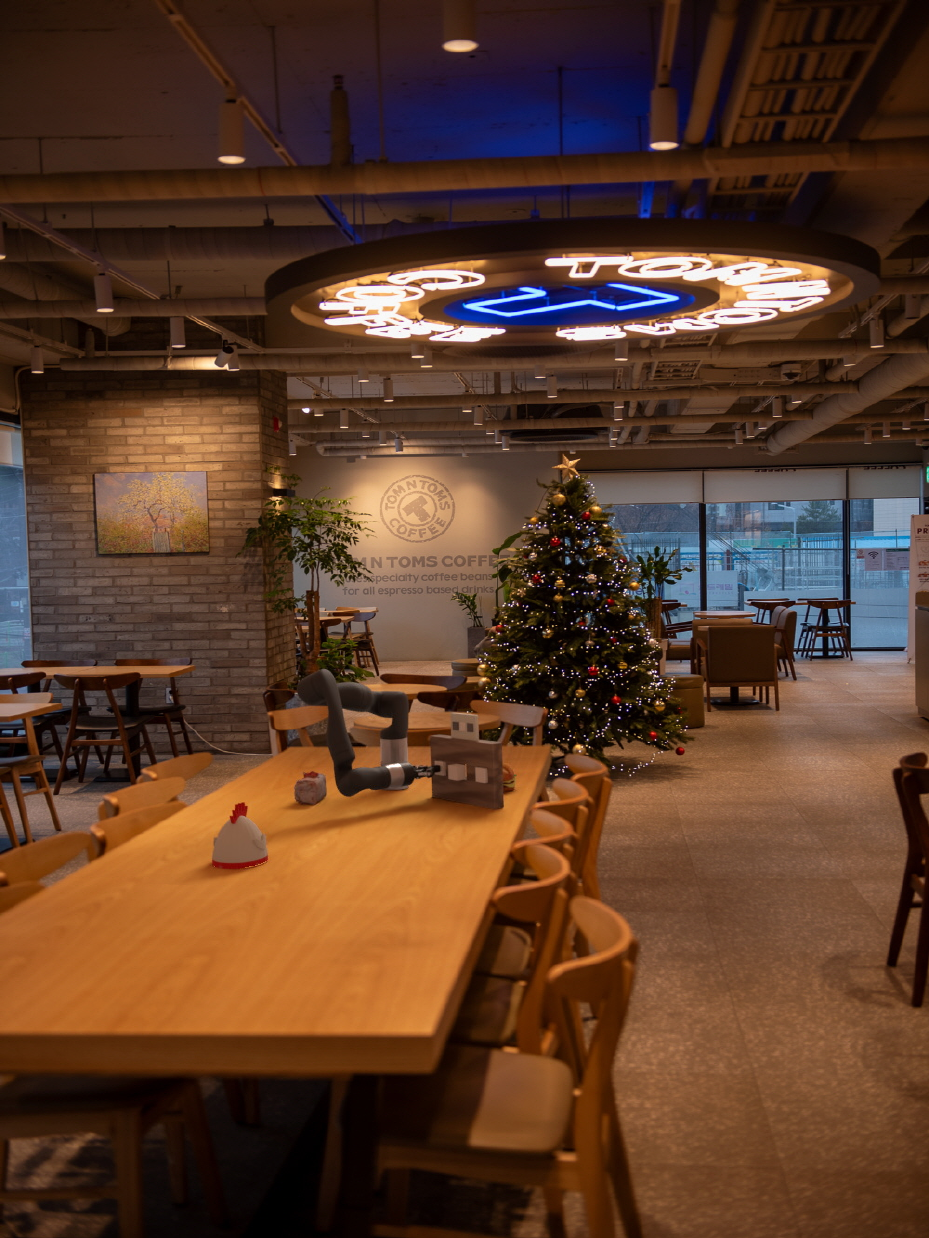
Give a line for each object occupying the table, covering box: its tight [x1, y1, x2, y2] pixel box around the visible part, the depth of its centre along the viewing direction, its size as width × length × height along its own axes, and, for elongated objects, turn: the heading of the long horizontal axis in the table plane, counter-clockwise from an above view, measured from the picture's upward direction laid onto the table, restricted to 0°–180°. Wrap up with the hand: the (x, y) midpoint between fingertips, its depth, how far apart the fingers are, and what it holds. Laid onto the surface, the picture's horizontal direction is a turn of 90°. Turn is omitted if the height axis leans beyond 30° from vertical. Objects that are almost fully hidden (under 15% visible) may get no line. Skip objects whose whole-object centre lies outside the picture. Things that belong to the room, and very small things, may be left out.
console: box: [429, 734, 505, 810], centre depth 340 cm, size 4×30×20 cm, turn 41°
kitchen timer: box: [211, 802, 269, 870], centre depth 272 cm, size 14×14×15 cm
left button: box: [435, 760, 446, 776], centre depth 347 cm, size 4×4×4 cm
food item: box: [293, 770, 328, 806], centre depth 348 cm, size 14×8×10 cm, turn 172°
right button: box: [475, 767, 488, 783], centre depth 332 cm, size 4×4×4 cm
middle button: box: [448, 764, 467, 781], centre depth 337 cm, size 4×4×4 cm
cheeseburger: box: [503, 762, 517, 792], centre depth 359 cm, size 10×11×10 cm
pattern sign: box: [450, 712, 480, 741], centre depth 339 cm, size 2×12×8 cm, turn 41°
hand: (439, 768), depth 346 cm, fingers closed
